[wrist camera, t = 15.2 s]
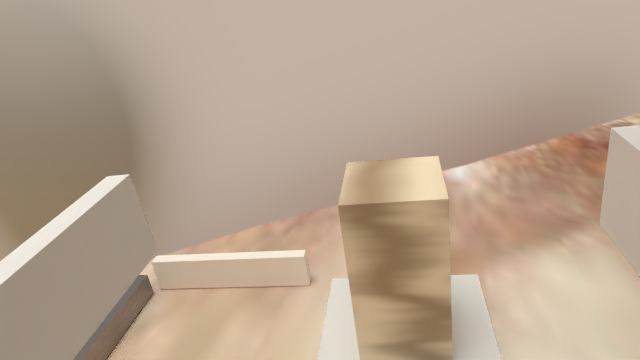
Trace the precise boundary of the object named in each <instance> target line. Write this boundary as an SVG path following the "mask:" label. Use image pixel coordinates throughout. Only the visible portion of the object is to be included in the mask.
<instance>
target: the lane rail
mask: <svg viewBox="0 0 640 360" xmlns="http://www.w3.org/2000/svg"><path fill="white" fill-rule="evenodd" d="M152 265H153V268H154V271H155V273H156V276H157V279H158V282H159V284H160V287H161V289H187V288H228V287H269V286H309V285H310V281H311V275H310V269H309V264H308V259H307V253H306V250H291V251H266V252H241V253H216V254H191V255H165V256H156V257H155V259H154V260H153V261H152Z"/></svg>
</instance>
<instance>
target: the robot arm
mask: <svg viewBox="0 0 640 360" xmlns="http://www.w3.org/2000/svg"><path fill="white" fill-rule="evenodd" d="M599 224H600V225H601V227H602V228H603V229H604V231H605V232H606V233H607V235H608V236H609V237H610V239H611V240H612V241H613V242H614V244H615V245H616V246H617V248H618V249H619V250H620V252H621V253H622V254H623V256H624V257H625V258H626V260H627V261H628V262H629V263H630V265H631V266H632V267H633V269H634V270H635V271H636V273H637V274H638V275H639V277H640V125H637V126H626V127H616V128H611V133H610V141H609V149H608V157H607V165H606V174H605V182H604V190H603V198H602V206H601V215H600V223H599ZM157 251H158V247H157V245H156V242H155V239H154V236H153V234H152V232H151V229H150V227H149V223H148V221H147V218H146V216H145V213H144V210H143V208H142V205H141V203H140V200H139V197H138V195H137V192H136V190H135V187H134V185H133V182H132V179H131V177H130V175H129V174H128V175H118V176H107V177H106V178H105V179H103V180H102V181H101V182H100V183H98V184H97V185H96V186H95V187H94V188H92V189H91V190H90V191H88V192H87V193H86V194H84V195H83V196H82V197H81V198H80V199H78V200H77V201H76V202H74V203H73V204H72V205H71V206H70V207H68V208H67V209H66V210H64V211H63V212H62V213H61V214H59V215H58V216H57V217H56V218H54V219H53V220H52V221H51V222H49V223H48V224H47V225H46V226H44V227H43V228H42V229H40V230H39V231H38V232H37V233H35V234H34V235H33V236H32V237H30V238H29V239H28V240H27V241H26V242H24V243H23V244H22V245H20V246H19V247H18V248H17V249H15V250H14V251H13V252H12V253H10V254H9V255H8V256H7V257H5V258H4V259H3V260H2V261H0V360H73V359H74V358H75V356H76V355H77V354H78V353H79V351H80V350H81V349H82V347H83V346H84V345H85V344H86V342H87V341H88V340H89V338H90V337H91V336H92V335H93V333H94V332H95V331H96V329H97V328H98V327H99V326H100V324H101V323H102V322H103V320H104V319H105V318H106V317H107V315H108V314H109V313H110V311H111V310H112V309H113V308H114V306H115V305H116V304H117V302H118V301H119V300H120V299H121V297H122V296H123V295H124V293H125V292H126V291H127V290H128V288H129V287H130V286H131V284H132V283H133V282H134V281H135V279H136V278H137V277H138V275H139V274H140V273H141V272H142V270H143V269H144V268H145V266H146V265H147V264H148V263H149V261H150V260H151V259H152V257H153V256H154V255H155V254H156V252H157Z"/></svg>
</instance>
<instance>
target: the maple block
mask: <svg viewBox="0 0 640 360" xmlns="http://www.w3.org/2000/svg"><path fill="white" fill-rule="evenodd" d="M338 209H339V216H340V223H341V230H342V237H343V244H344V251H345V258H346V265H347V272H348V279H349V286H350V293H351V300H352V308H353V315H354V322H355V329H356V336H357V343H358V350H359V357H360V360H453V350H452V310H451V271H450V232H449V198H448V194H447V190H446V186H445V182H444V178H443V174H442V170H441V166H440V162H439V157H438V156H430V157H417V158H404V159H390V160H377V161H364V162H350V163H347V166H346V171H345V175H344V180H343V185H342V190H341V194H340V199H339V203H338Z"/></svg>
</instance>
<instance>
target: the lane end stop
mask: <svg viewBox="0 0 640 360" xmlns="http://www.w3.org/2000/svg"><path fill="white" fill-rule="evenodd" d="M153 293H154V292H153V290H152V287H151V284H150V281H149V279H148V276H147V275H138V277H137V278H136V279H135V281H134V282H133V283H132V284H131V286H130V287H129V288H128V290H127V291H126V292H125V293H124V295H123V296H122V297H121V299H120V300H119V301H118V302H117V304H116V305H115V306H114V308H113V309H112V310H111V311H110V313H109V314H108V315H107V317H106V318H105V319H104V320H103V322H102V323H101V324H100V326H99V327H98V328H97V329H96V331H95V332H94V333H93V335H92V336H91V337H90V338H89V340H88V341H87V342H86V344H85V345H84V346H83V347H82V349H81V350H80V351H79V353H78V354H77V355H76V356H75V358H74V359H73V360H106V359H107V357H108V356H109V355H110V353H111V352H112V350H113V349H114V348H115V346H116V345H117V343H118V342H119V341H120V339H121V338H122V336H123V335H124V334H125V332H126V331H127V329H128V328H129V327H130V325H131V324H132V322H133V321H134V320H135V318H136V317H137V315H138V314H139V313H140V311H141V310H142V308H143V307H144V306H145V304H146V303H147V301H148V300H149V299H150V297H151V296H152V294H153Z"/></svg>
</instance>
